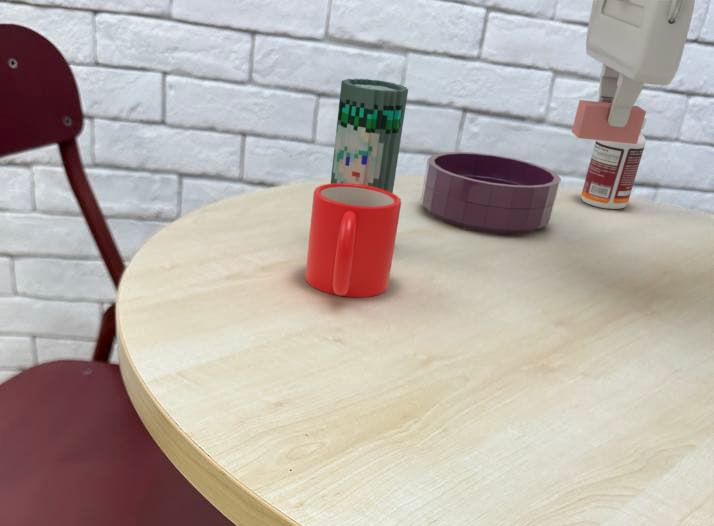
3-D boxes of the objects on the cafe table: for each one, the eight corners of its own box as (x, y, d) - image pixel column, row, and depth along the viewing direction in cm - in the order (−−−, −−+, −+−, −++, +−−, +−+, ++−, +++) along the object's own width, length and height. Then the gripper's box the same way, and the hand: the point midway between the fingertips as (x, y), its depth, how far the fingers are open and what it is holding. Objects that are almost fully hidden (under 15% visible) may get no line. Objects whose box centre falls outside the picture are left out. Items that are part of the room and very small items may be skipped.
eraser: (628, 138, 88) (637, 106, 86) (636, 144, 85) (646, 111, 83) (571, 132, 87) (579, 99, 86) (577, 138, 85) (586, 105, 83)
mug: (295, 307, 74) (304, 214, 69) (309, 262, 83) (318, 178, 79) (385, 318, 74) (400, 226, 69) (388, 272, 83) (402, 189, 79)
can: (317, 244, 88) (334, 83, 79) (337, 229, 93) (355, 76, 84) (372, 256, 87) (395, 94, 78) (390, 241, 91) (414, 86, 82)
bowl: (535, 205, 110) (546, 160, 106) (559, 243, 97) (573, 193, 94) (415, 192, 109) (423, 146, 106) (425, 228, 97) (434, 177, 93)
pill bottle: (617, 199, 117) (644, 111, 110) (632, 212, 112) (661, 121, 105) (574, 195, 116) (598, 106, 110) (587, 207, 111) (613, 116, 105)
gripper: (731, -36, 69) (671, 147, 77) (657, -45, 85) (614, 106, 94) (654, -45, 69) (603, 139, 77) (595, -53, 85) (558, 100, 93)
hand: (609, 121), depth 85 cm, fingers closed on eraser, 3 cm apart
